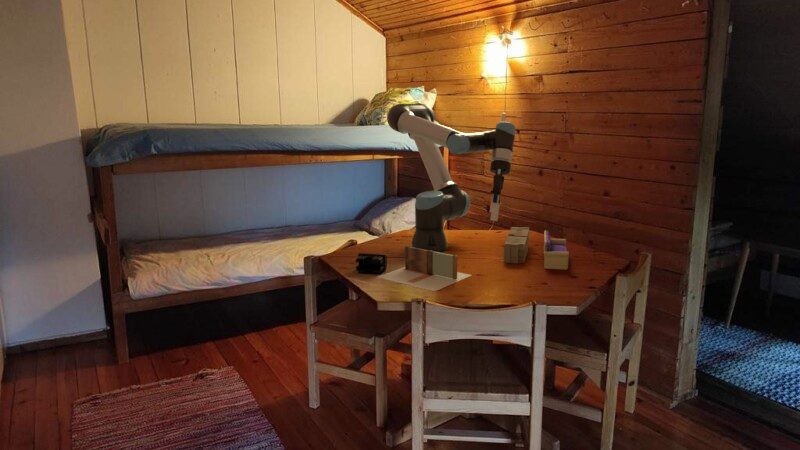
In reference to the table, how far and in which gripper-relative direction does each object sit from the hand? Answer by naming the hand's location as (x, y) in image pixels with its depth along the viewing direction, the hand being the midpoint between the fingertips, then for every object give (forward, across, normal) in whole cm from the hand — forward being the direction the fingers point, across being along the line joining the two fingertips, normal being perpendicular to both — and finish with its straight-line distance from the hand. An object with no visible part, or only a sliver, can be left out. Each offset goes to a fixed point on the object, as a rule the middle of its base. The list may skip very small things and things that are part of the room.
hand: (493, 216), depth 211 cm
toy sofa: (+12, +11, -25) cm, 30 cm away
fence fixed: (+25, -9, +23) cm, 35 cm away
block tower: (+10, +20, -10) cm, 25 cm away
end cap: (+29, -10, +40) cm, 50 cm away
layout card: (+28, -13, +20) cm, 37 cm away
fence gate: (+26, -14, +13) cm, 33 cm away
